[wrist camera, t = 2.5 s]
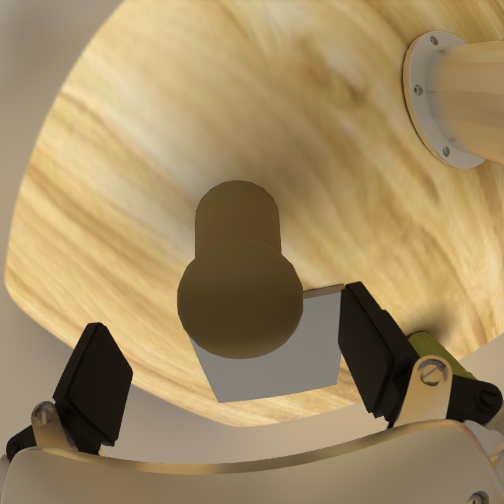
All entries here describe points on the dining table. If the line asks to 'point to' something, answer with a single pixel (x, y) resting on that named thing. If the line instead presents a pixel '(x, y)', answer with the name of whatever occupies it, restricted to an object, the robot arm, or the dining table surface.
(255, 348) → the brown pawn
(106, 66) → the dining table surface
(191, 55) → the dining table surface
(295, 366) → the tile
